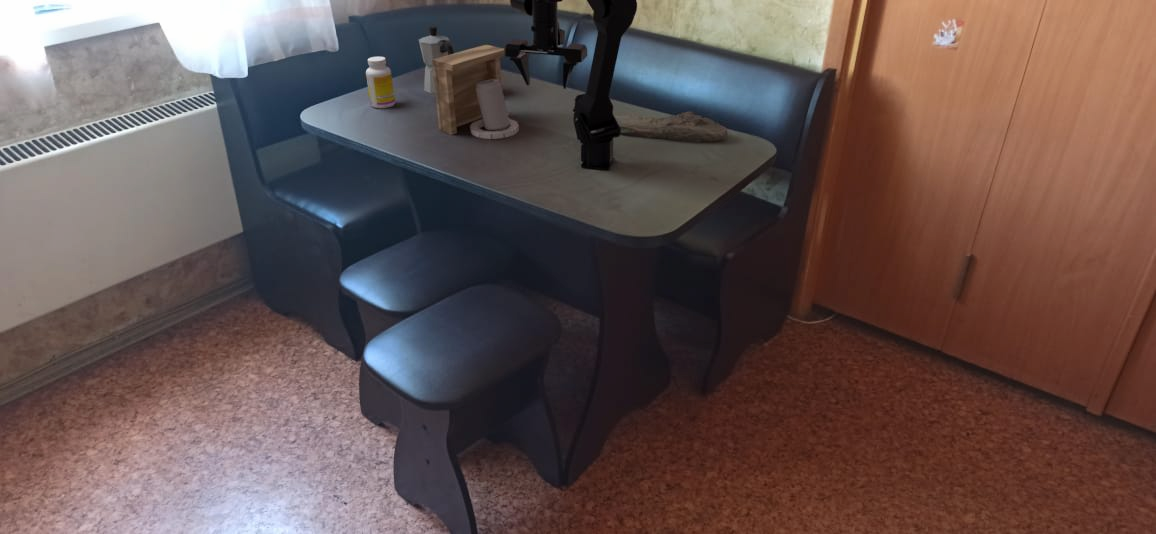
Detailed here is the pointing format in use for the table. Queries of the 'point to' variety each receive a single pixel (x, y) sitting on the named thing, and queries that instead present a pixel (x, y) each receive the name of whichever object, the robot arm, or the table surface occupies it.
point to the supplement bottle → (380, 83)
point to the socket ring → (495, 134)
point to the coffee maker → (433, 55)
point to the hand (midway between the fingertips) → (546, 86)
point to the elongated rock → (672, 127)
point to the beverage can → (492, 105)
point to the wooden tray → (463, 84)
